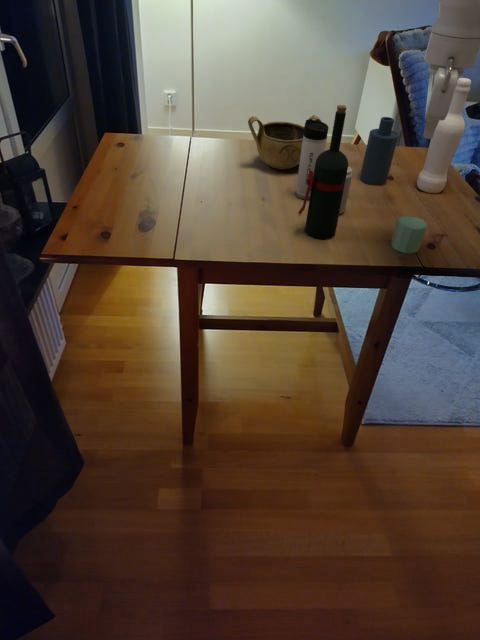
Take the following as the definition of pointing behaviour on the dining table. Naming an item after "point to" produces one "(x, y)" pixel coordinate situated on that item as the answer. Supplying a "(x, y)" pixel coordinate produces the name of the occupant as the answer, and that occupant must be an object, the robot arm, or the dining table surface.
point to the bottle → (444, 142)
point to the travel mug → (310, 153)
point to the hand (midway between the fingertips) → (428, 129)
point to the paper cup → (408, 234)
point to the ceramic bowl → (279, 142)
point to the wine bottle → (327, 185)
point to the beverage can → (346, 190)
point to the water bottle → (379, 153)
